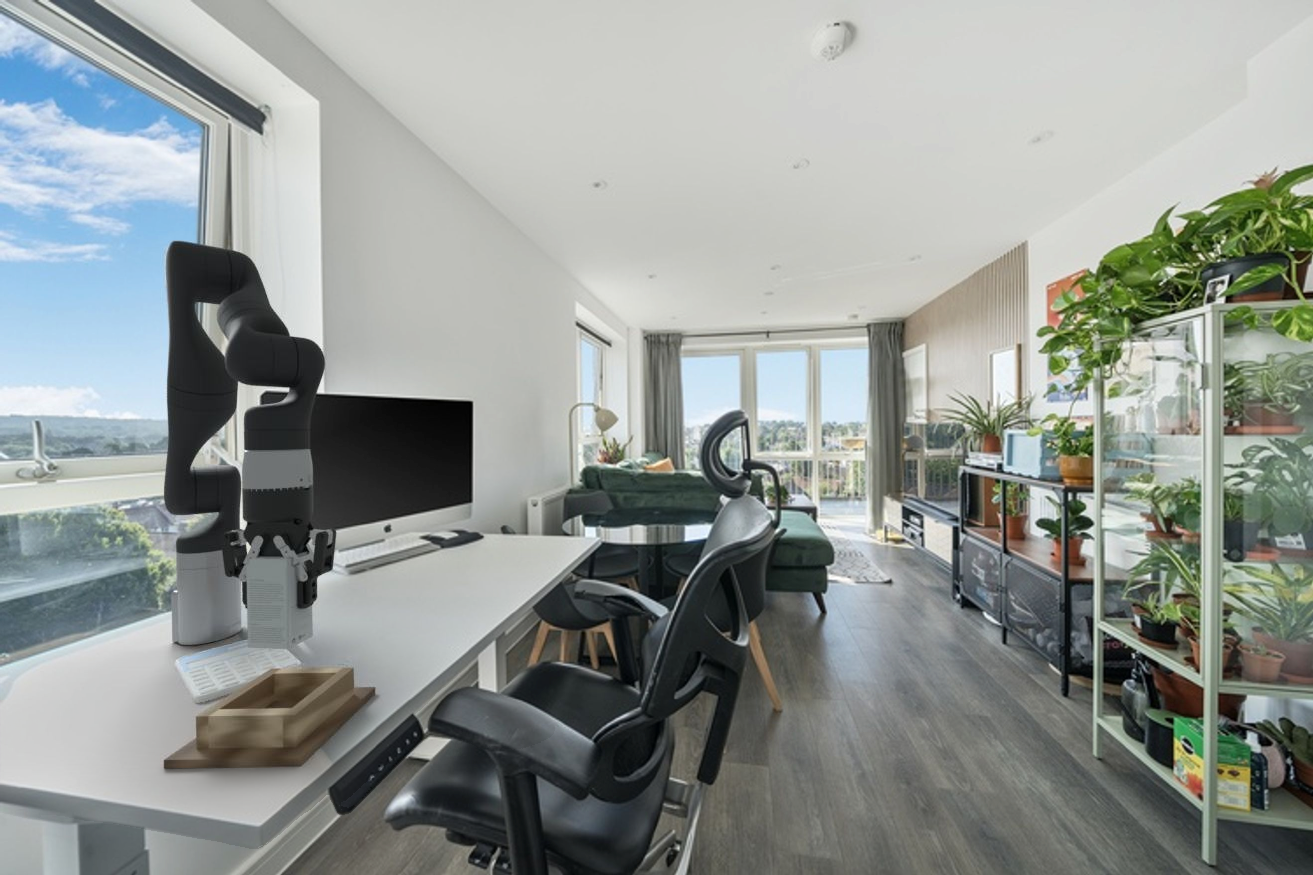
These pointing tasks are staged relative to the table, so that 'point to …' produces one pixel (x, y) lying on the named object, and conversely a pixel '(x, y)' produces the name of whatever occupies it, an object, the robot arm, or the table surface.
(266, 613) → the skincare box
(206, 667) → the calculator
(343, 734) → the table surface
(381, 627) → the table surface
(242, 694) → the wooden box stand
